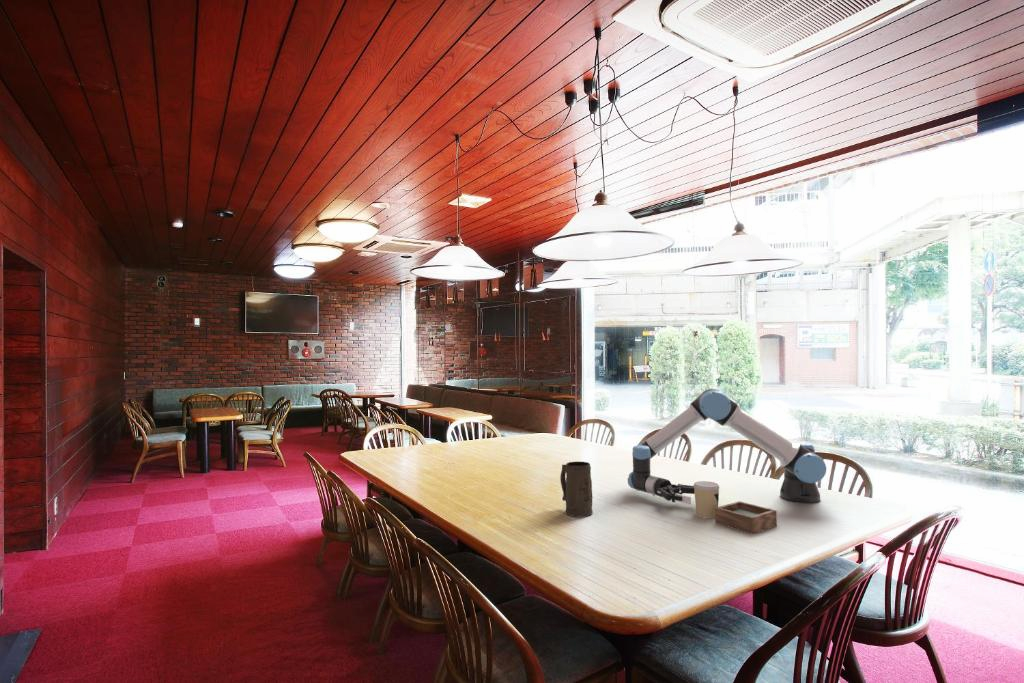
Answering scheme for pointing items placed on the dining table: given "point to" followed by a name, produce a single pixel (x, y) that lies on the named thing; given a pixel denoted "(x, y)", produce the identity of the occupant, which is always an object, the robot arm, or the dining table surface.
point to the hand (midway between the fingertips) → (701, 497)
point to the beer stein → (577, 488)
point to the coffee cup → (706, 498)
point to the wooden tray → (746, 517)
